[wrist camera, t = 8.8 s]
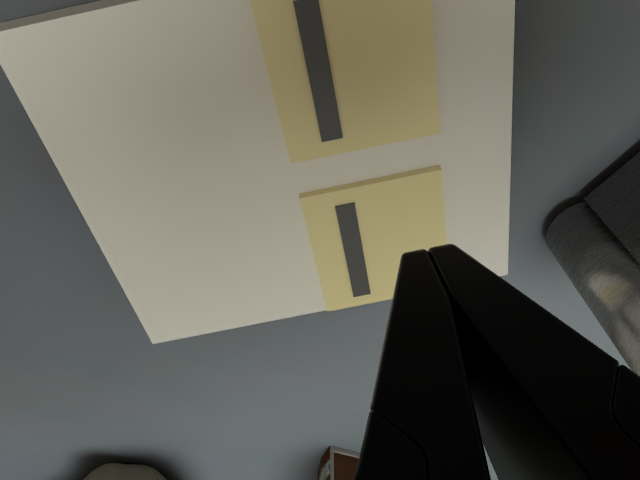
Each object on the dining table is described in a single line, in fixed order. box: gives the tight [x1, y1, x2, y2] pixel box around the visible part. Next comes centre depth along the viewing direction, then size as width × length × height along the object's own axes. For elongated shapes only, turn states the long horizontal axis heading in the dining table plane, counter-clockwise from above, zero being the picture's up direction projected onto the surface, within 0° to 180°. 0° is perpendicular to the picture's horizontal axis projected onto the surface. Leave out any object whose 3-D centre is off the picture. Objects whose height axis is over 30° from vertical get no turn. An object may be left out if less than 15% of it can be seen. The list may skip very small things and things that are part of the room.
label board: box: [0, 0, 515, 344], centre depth 19 cm, size 15×13×2 cm
